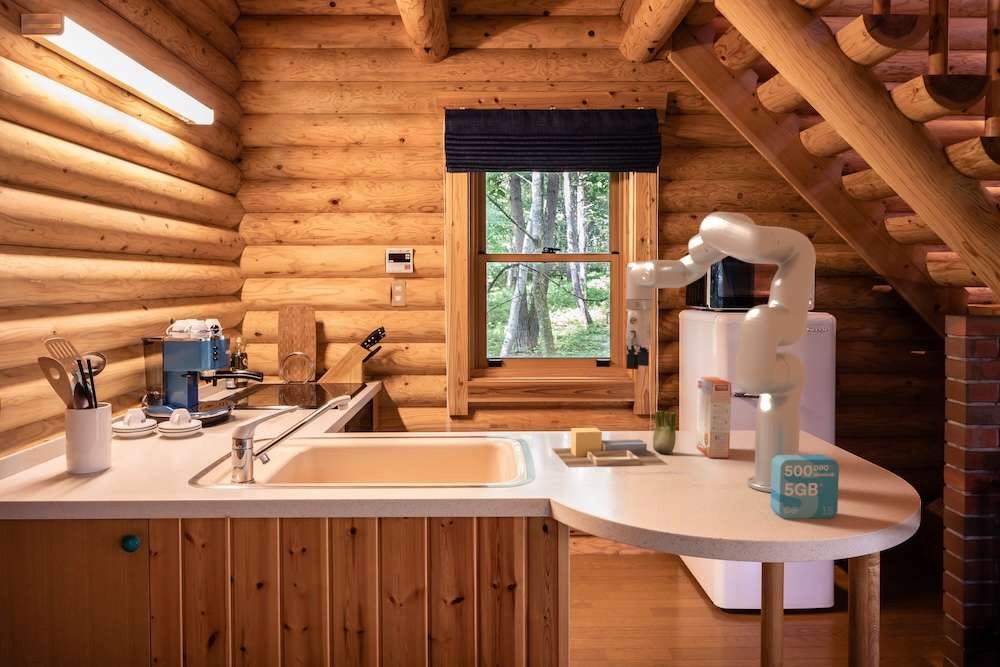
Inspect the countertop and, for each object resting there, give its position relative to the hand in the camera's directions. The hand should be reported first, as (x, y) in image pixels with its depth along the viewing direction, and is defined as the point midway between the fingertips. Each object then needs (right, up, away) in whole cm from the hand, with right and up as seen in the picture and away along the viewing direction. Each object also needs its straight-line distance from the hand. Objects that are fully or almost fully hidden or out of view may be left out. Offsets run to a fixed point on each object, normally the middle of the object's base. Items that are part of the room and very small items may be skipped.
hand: (637, 367), depth 206 cm
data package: (+23, -28, -56) cm, 67 cm away
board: (-10, -25, -9) cm, 28 cm away
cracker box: (+21, -24, +1) cm, 32 cm away
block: (-15, -23, -6) cm, 28 cm away
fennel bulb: (+7, -24, 0) cm, 25 cm away
